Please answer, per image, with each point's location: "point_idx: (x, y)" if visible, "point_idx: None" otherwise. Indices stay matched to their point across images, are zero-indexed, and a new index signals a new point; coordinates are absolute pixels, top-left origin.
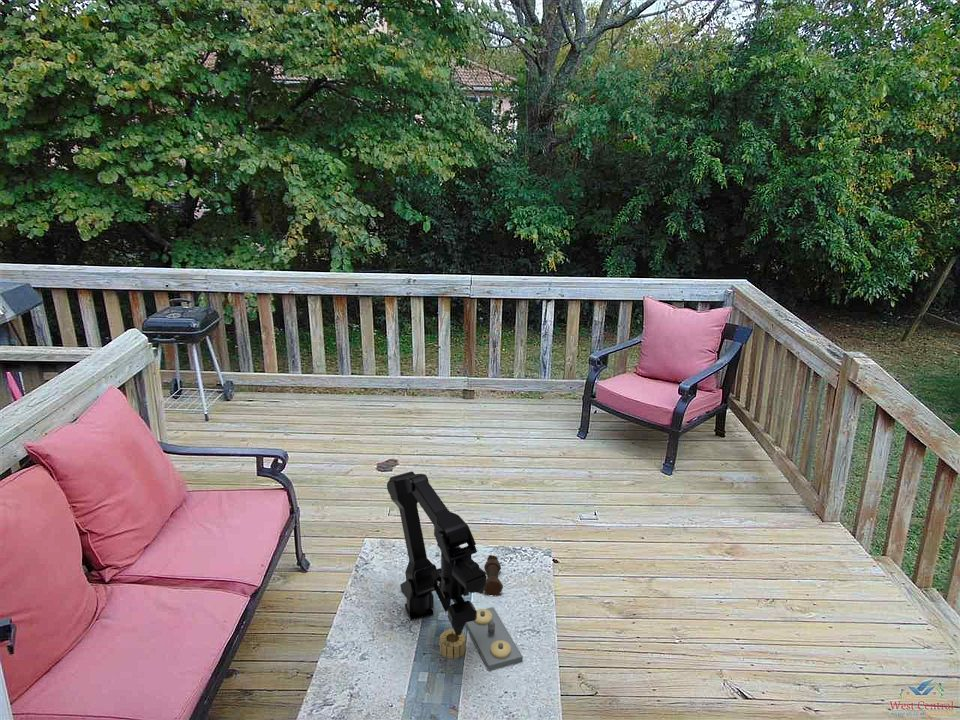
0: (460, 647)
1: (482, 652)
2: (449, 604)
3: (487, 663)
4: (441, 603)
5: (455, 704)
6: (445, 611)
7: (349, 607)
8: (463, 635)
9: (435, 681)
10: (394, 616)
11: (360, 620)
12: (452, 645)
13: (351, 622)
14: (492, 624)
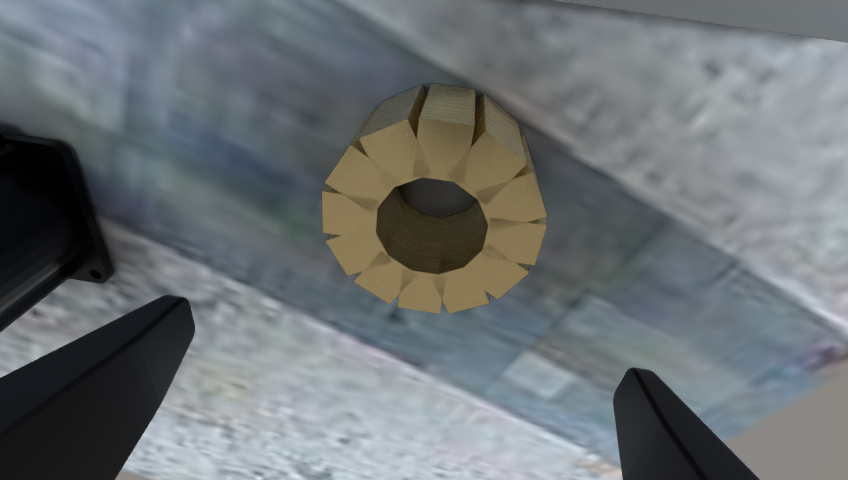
0: (543, 203)
1: (673, 12)
2: (120, 363)
3: (818, 37)
4: (115, 475)
5: (824, 344)
6: (194, 328)
7: None
8: (448, 135)
9: (609, 351)
10: (78, 323)
11: None
12: (508, 265)
13: None
14: None
